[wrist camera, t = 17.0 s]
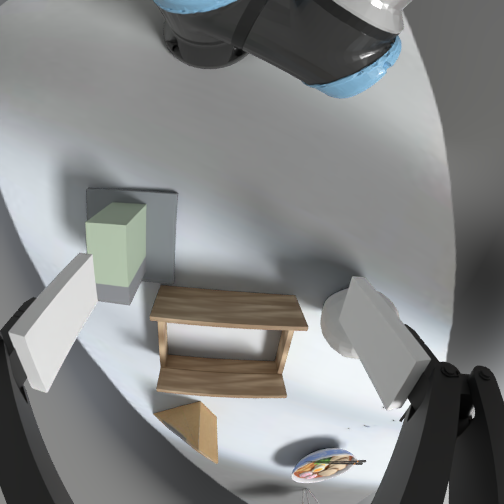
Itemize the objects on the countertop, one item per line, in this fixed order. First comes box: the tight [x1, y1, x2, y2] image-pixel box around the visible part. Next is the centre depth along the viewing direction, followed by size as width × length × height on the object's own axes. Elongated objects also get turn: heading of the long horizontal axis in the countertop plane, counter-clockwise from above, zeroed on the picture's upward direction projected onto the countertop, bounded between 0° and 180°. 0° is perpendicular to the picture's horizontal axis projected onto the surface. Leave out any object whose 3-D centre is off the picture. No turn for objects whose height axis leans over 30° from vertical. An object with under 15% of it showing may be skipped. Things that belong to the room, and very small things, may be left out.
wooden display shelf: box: [150, 285, 308, 398], centre depth 53 cm, size 18×25×10 cm
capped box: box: [85, 202, 147, 305], centre depth 42 cm, size 12×6×11 cm, turn 172°
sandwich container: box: [154, 401, 218, 464], centre depth 61 cm, size 9×15×15 cm, turn 115°
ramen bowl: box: [291, 448, 366, 483], centre depth 79 cm, size 25×23×8 cm
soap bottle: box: [320, 288, 400, 359], centre depth 45 cm, size 14×9×26 cm, turn 107°
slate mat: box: [86, 188, 178, 284], centre depth 48 cm, size 16×16×1 cm
